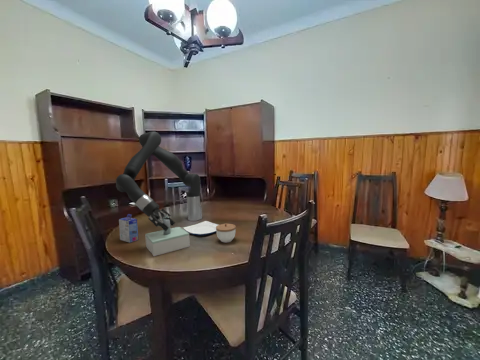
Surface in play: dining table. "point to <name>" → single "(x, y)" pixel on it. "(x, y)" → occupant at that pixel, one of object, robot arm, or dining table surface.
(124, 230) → the ink cartridge box
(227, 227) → the lidded jar
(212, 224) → the plate
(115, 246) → the dining table surface
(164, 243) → the open box
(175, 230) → the lid
